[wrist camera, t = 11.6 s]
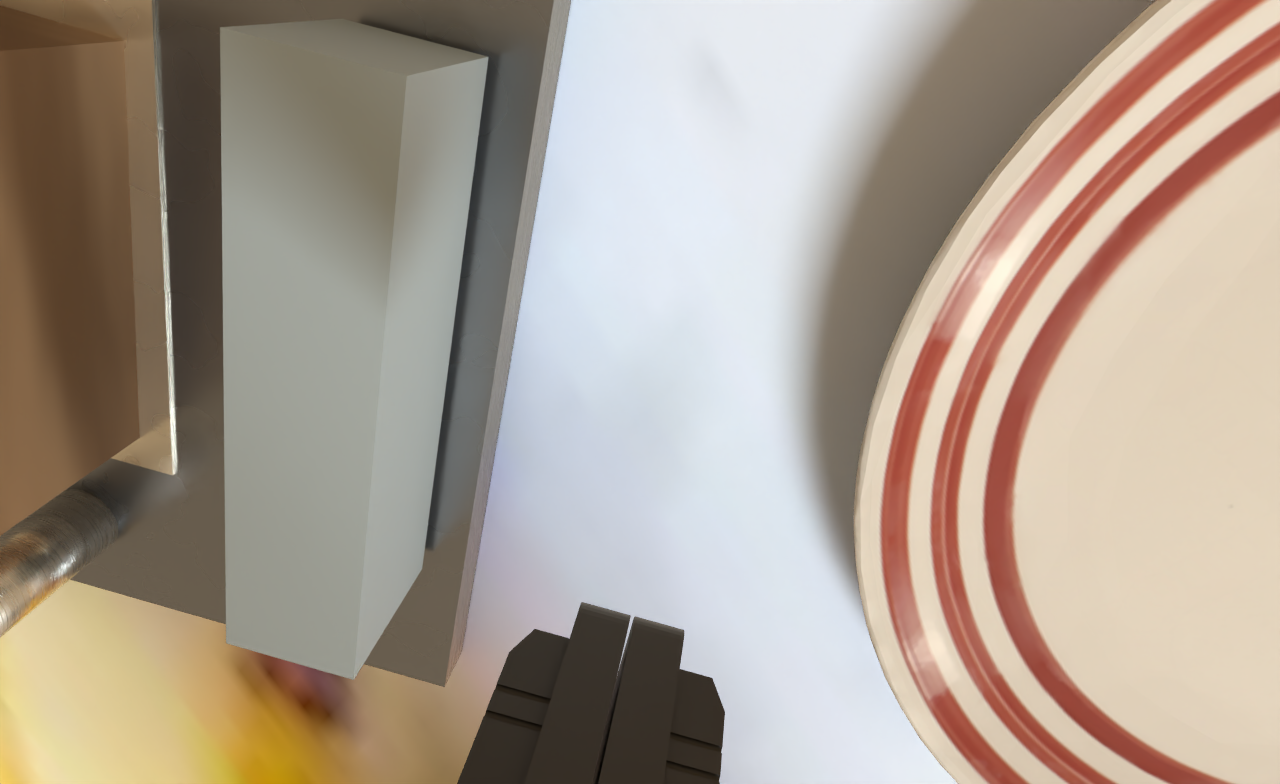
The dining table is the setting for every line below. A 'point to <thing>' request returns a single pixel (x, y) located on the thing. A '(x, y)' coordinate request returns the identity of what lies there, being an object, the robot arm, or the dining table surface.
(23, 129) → the block
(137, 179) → the housing base
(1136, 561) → the dinner plate
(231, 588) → the bar
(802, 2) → the dining table surface
